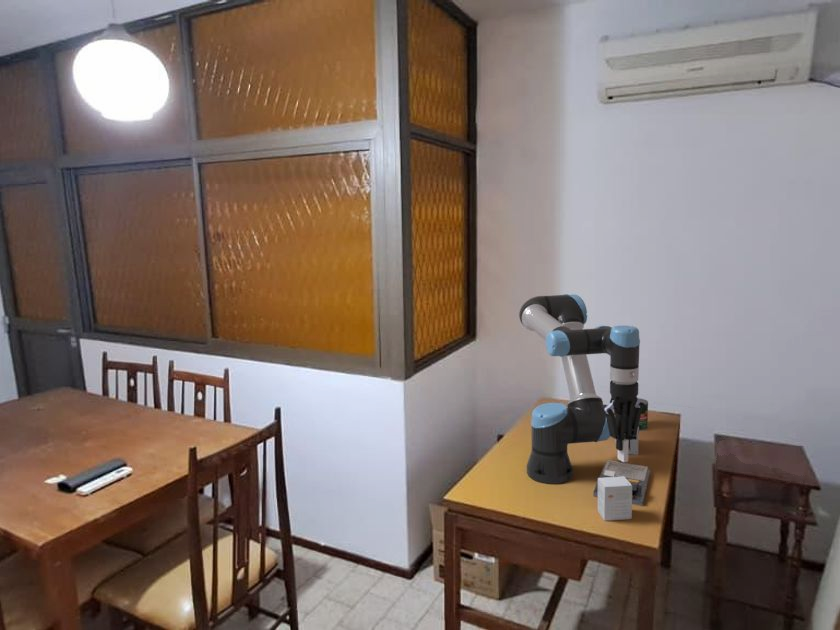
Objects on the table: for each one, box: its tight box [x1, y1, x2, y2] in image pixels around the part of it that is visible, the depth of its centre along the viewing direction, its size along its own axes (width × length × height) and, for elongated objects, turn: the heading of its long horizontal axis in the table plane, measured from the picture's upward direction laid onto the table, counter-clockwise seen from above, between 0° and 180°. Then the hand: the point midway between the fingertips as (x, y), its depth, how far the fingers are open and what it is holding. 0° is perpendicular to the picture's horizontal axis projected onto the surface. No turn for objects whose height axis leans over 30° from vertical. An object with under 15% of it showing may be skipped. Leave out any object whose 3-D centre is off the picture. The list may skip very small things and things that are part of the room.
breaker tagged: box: [628, 479, 639, 491], centre depth 162 cm, size 7×3×2 cm, turn 151°
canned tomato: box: [637, 397, 649, 432], centre depth 214 cm, size 8×8×11 cm
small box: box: [597, 476, 633, 522], centre depth 152 cm, size 8×6×10 cm
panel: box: [592, 459, 651, 507], centre depth 169 cm, size 22×14×4 cm, turn 152°
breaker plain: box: [603, 470, 615, 478], centre depth 166 cm, size 7×3×2 cm, turn 152°
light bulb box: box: [614, 426, 640, 456], centre depth 195 cm, size 11×7×11 cm, turn 168°
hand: (622, 459), depth 153 cm, fingers closed
